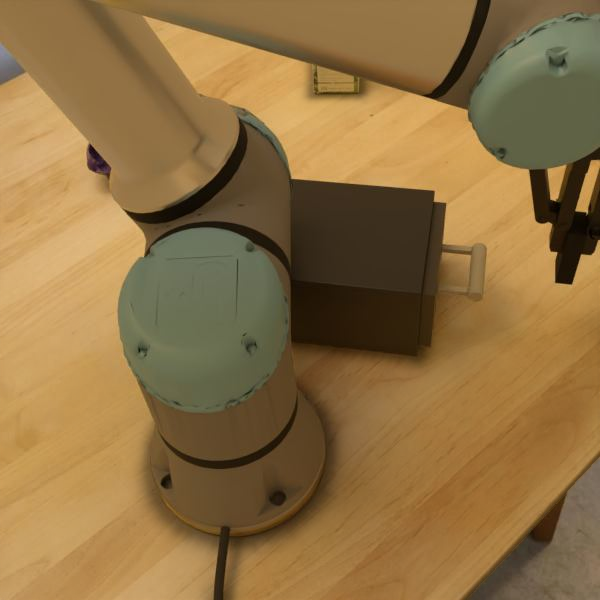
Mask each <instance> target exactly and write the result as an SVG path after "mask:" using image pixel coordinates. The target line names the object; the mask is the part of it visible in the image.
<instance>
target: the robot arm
mask: <svg viewBox="0 0 600 600" xmlns="http://www.w3.org/2000/svg"><path fill="white" fill-rule="evenodd" d="M146 17H147V18H150V19H153V20H157V21H160V22H164V23H168V24H171V25H174V26H178V27H182V28H185V29H187V30H191V31H196V32H198V33H201V34H205V35H208V36H212V37H215V38H219V39H222V40H226V41H230V42H233V43H237V44H240V45H244V46H247V47H250V48H254V49H257V50H261V51H264V52H268V53H271V54H274V55H278V56H281V57H284V58H288V59H292V60H296V61H299V62H302V63H305V64H308V65H311V66H312V65H316V66H319V67H323V68H326V69H330V70H333V71H337V72H340V73H343V74H347V75H350V76H354V77H357V78H359V79H361V80H364V81H368V82H372V83H375V84H378V85H381V86H385V87H389V88H392V89H395V90H399V91H403V92H407V93H408V94H409V93H410V94H413V95H416V96H420V97H422V98H427V99H430V100H433V101H435V102H439V103H442V104H445V105H448V106H452V107H456V108H459V109H463V110H466V111H467V119H468V122H469V123H471V127H472V129H473V131H474V132H475V134H476V137H477V139H478V141H479V142H480V144H481V146H483V148H484V149H485V150H486V152H488V153H489V154H490V155H491V156H493V157H494V158H495V159H496V161H498V162H500V163H502V164H504V165H507V166H510V167H512V168H516V169H521V170H528V172H529V173H528V174H529V182H530V190H531V197H532V198H531V199H532V205H533V215H534V220H535V222H536V223H538V224H540V225H544V224H547V223H549V224H551V227H550V232H549V236H548V238H549V239H548V249H549V251H550V252H551V253H556V256H555V260H554V284H560V285H570V286H572V285H573V283H574V280H575V276H576V273H577V270H578V267H579V263H580V260H581V258H582V255H583V256H592V255H593V254H594V253H595V252H596V249H597V246H598V242H599V241H600V167H599V169H598V171H597V175H596V178H595V182H594V185H593V188H592V192H591V195H590V199H589V202H588V206H587V212H586V211H579V210H578V211H577V207H578V203H579V199H580V196H581V192H582V189H583V185H584V182H585V178H586V175H587V174H588V173H589V170H590V166H591V163H592V161H600V0H0V44H1V45H2V47H4V49H5V50H6V51H7V52H8V53H9V54H10V55H11V57H13V59H14V60H15V61H16V62H17V63H18V65H19V66H21V68H22V69H23V70H24V71H25V73H27V75H29V77H30V78H31V79H32V80H33V81H34V82H35V84H36V85H38V87H39V88H40V89H41V90H42V92H44V94H45V95H46V96H47V97H48V98H49V99H50V100H51V101H52V102H53V104H54V105H55V106H56V107H57V108H58V110H60V112H61V113H62V114H63V115H64V116H65V117H66V118H67V119H68V121H69V122H70V123H71V124H72V125H73V126H74V127H75V129H76V130H77V131H78V132H79V133H80V135H81V136H83V137H84V138H85V140H86V141H87V142H88V144H89V143H90V144H91V145H92V146H93V147H94V149H95V150H96V151H97V152H98V153H99V154H100V155H101V156H102V158H103V159H104V160H105V161H106V162H107V163H108V164H109V165H110V167H111V173H110V180H109V179H108V186H109V192H110V194H111V197H112V199H113V200H114V201H115V202H116V204H117V205H118V206H119V207H120V208H121V209H122V210H123V212H125V214H126V215H127V216H128V217H129V219H130V220H132V222H134V224H135V225H136V226H137V227H138V228H139V229H140V230H141V232H142V233H143V235H144V238H145V246H144V252H143V253H144V254H143V256H140V257H138V258H137V259H136V260H135V262H134V263H133V264H132V266H131V267H130V269H129V270H128V272H127V274H126V276H125V278H124V280H123V282H122V285H121V287H120V291H119V296H118V301H117V323H118V324H117V325H118V330H119V331H118V332H119V340H120V341H121V344H122V350H123V355H124V357H125V359H126V361H127V364H128V367H129V368H130V369H131V372H132V374H133V376H134V378H135V380H136V382H137V384H138V386H139V388H140V391H141V393H142V396H143V398H144V401H145V402H146V405H147V408H148V410H149V413H150V414H151V417H152V420H153V422H154V427H153V432H152V437H151V442H150V454H149V456H150V457H149V459H150V468H151V473H152V477H153V481H154V483H155V485H156V488H157V490H158V492H159V494H160V496H161V498H162V499H163V501H164V503H165V504H166V505H167V507H168V508H169V510H171V512H172V513H173V514H174V515H175V516H177V517H178V519H180V520H181V521H183V522H184V523H186V524H187V525H189V526H191V527H193V528H194V529H197V530H198V531H202V532H204V533H208V534H211V535H216V536H219V540H218V549H217V559H216V564H215V574H214V583H213V584H214V585H213V600H224V595H225V594H224V592H225V577H226V568H227V561H228V560H227V559H228V551H229V545H230V544H229V543H230V537H244V536H245V537H246V536H251V535H255V534H259V533H262V532H266V531H268V530H271V529H273V528H275V527H276V526H279V525H281V524H283V523H284V522H286V521H288V520H289V519H290V518H291V517H293V516H294V515H296V514H297V513H298V512H299V511H300V510H301V509H302V508H303V507H304V506H305V505H306V504H307V503H308V501H309V500H310V499H311V498H312V496H313V494H314V493H315V491H316V490H317V487H318V485H319V484H320V481H321V479H322V476H323V474H324V470H325V466H326V465H325V464H326V458H327V457H326V454H327V453H326V452H327V449H326V439H325V432H324V426H323V424H322V420H321V418H320V415H319V413H318V411H317V410H316V408H315V406H314V404H313V403H312V401H311V400H310V399H309V398H308V396H307V395H306V394H305V393H304V392H303V391H302V390H301V389H300V388H299V387H298V386H297V379H296V373H295V371H296V370H295V364H294V357H293V348H292V347H293V346H292V342H291V286H290V275H291V207H292V199H293V183H292V181H291V179H292V173H291V169H290V165H289V159H288V156H287V153H286V151H285V149H284V147H283V144H282V143H281V141H280V139H279V138H278V137H277V135H275V133H274V132H273V131H272V130H271V129H270V127H268V126H267V124H263V123H262V122H263V121H262V120H261V121H262V122H261V121H259V120H258V119H259V118H258V119H256V118H255V117H253V116H251V115H247V116H246V117H245V116H242V115H239V114H238V112H237V110H235V109H233V108H232V107H231V106H230V105H231V104H229V103H228V102H226V101H225V100H223V99H221V98H217V97H212V96H207V97H200V95H199V94H200V93H199V92H198V91H197V90H196V88H195V87H194V85H193V84H192V82H191V81H190V79H189V78H188V77H187V75H186V74H185V73H184V71H183V70H182V69H181V67H180V66H179V64H178V63H177V61H176V60H175V59H174V57H173V56H172V54H171V53H170V51H168V49H167V47H166V46H165V45H164V43H163V42H162V41H161V39H160V37H159V36H158V35H157V34H156V32H155V31H154V29H153V28H152V27H151V25H150V24H149V22H148V21H147V20H146ZM198 93H199V94H198ZM563 166H565V168H564V173H563V177H562V181H561V184H560V189H559V193H558V197H557V198H556V199H555V200H554V199H551V189H550V180H549V179H550V178H549V170H550V169H555V168H560V167H563Z"/></svg>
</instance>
